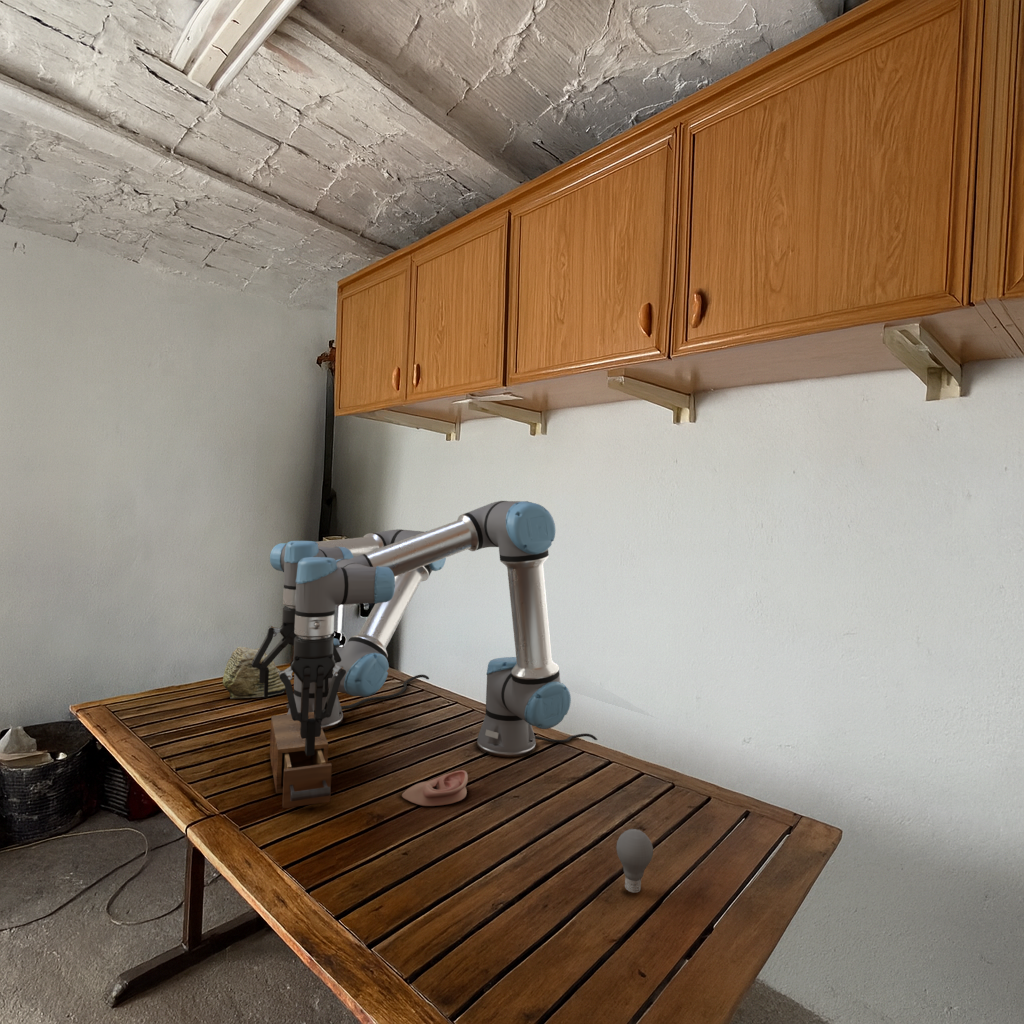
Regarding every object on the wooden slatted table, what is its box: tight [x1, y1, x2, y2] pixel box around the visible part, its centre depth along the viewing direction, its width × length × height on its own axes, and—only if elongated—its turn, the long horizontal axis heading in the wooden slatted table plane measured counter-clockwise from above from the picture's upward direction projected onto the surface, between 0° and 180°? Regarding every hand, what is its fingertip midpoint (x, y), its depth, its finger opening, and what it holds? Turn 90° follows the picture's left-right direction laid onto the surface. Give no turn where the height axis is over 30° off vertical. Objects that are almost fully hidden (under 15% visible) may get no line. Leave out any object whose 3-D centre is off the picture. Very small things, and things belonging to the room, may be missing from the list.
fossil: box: [222, 646, 286, 699], centre depth 198 cm, size 9×18×15 cm, turn 132°
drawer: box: [281, 749, 333, 809], centre depth 135 cm, size 26×9×8 cm, turn 24°
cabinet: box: [269, 712, 329, 794], centre depth 146 cm, size 22×10×10 cm, turn 24°
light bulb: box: [615, 828, 654, 894], centre depth 106 cm, size 6×6×10 cm
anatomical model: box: [401, 769, 469, 807], centre depth 137 cm, size 13×4×12 cm
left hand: (296, 693), depth 152 cm, fingers open, 13 cm apart
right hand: (309, 752), depth 126 cm, fingers closed
